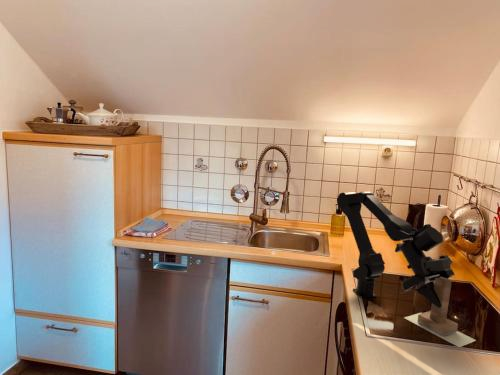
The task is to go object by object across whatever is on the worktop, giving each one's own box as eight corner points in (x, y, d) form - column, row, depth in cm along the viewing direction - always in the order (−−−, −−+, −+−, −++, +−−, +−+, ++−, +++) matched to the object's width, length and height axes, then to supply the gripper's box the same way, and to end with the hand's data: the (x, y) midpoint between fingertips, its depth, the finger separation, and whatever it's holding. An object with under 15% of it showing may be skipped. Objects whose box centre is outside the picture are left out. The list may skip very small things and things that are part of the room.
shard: (368, 304, 133) (368, 299, 133) (391, 309, 130) (392, 304, 130) (365, 317, 123) (366, 312, 122) (391, 323, 120) (391, 318, 120)
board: (403, 321, 121) (403, 317, 121) (420, 316, 125) (420, 312, 125) (458, 351, 106) (459, 347, 106) (475, 344, 110) (476, 340, 110)
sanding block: (417, 322, 118) (423, 275, 116) (429, 318, 121) (435, 272, 119) (444, 336, 110) (452, 286, 108) (456, 331, 114) (464, 283, 111)
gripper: (415, 249, 111) (446, 301, 103) (453, 243, 120) (483, 290, 113) (390, 266, 119) (416, 315, 111) (427, 259, 128) (454, 304, 121)
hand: (443, 306), depth 114 cm, fingers closed on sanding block, 3 cm apart
